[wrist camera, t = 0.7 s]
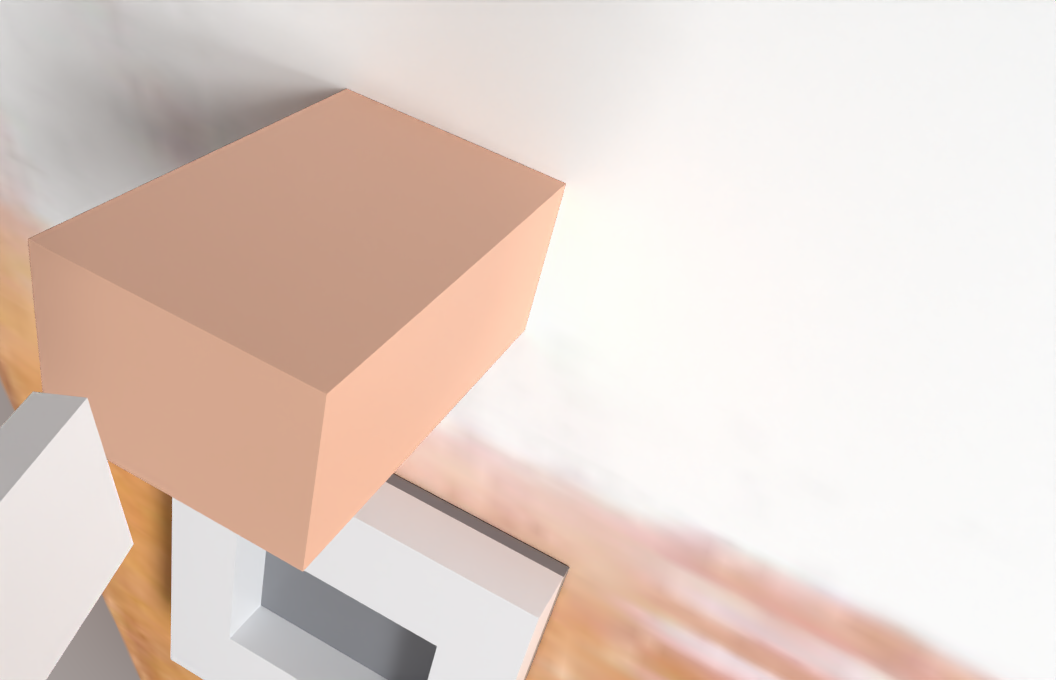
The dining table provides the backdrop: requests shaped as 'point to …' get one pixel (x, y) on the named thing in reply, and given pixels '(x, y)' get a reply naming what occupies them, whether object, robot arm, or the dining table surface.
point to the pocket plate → (363, 598)
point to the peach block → (292, 311)
